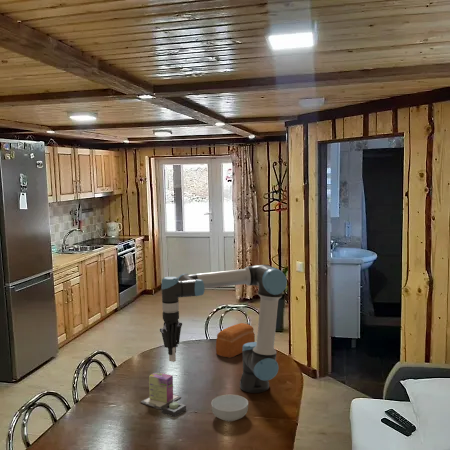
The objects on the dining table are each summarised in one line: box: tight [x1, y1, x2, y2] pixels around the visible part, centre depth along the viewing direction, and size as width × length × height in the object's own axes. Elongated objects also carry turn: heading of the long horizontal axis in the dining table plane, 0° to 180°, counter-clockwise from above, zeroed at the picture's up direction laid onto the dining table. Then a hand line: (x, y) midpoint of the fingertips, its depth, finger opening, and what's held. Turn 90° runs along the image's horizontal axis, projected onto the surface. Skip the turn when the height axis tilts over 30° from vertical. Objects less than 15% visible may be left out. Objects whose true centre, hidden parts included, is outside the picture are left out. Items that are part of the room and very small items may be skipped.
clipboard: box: [140, 393, 182, 411], centre depth 236 cm, size 13×15×1 cm
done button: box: [169, 401, 179, 410], centre depth 224 cm, size 4×4×2 cm
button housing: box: [161, 401, 187, 418], centre depth 225 cm, size 8×8×2 cm
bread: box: [215, 322, 256, 358], centre depth 303 cm, size 14×26×16 cm, turn 141°
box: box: [148, 372, 174, 403], centre depth 236 cm, size 10×6×12 cm, turn 63°
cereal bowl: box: [210, 393, 249, 422], centre depth 218 cm, size 17×17×7 cm
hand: (172, 360), depth 223 cm, fingers closed
